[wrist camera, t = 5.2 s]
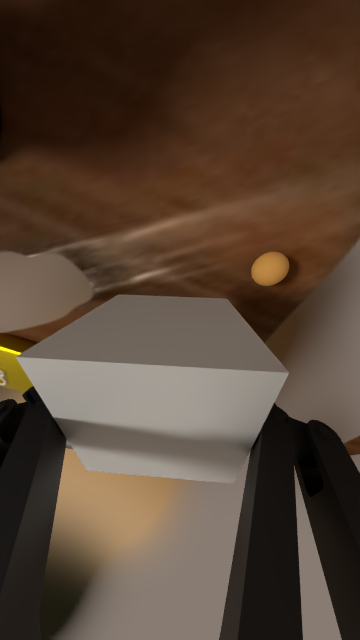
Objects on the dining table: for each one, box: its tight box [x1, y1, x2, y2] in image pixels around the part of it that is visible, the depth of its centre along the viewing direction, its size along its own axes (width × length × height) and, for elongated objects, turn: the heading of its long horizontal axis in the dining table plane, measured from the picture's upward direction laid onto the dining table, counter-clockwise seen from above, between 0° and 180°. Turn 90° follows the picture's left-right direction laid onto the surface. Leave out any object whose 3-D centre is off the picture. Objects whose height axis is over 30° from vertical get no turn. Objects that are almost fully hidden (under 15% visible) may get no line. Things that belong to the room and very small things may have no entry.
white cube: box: [16, 295, 289, 483], centre depth 11 cm, size 10×10×9 cm
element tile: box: [0, 333, 38, 393], centre depth 36 cm, size 15×15×5 cm
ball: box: [251, 252, 289, 286], centre depth 22 cm, size 5×5×5 cm
